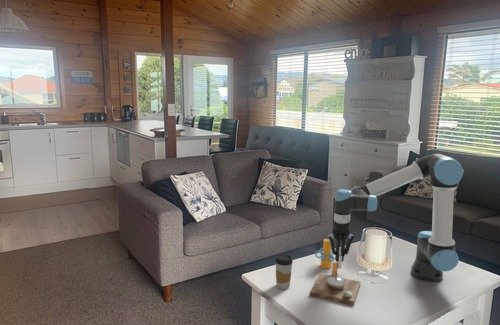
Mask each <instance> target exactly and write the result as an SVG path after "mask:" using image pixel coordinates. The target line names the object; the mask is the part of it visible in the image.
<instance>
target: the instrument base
mask: <svg viewBox="0 0 500 325" xmlns="http://www.w3.org/2000/svg"><path fill="white" fill-rule="evenodd" d="M329 275H330V274H324V273H319V275H318V277H317V279H316V280H315V281H314V282H313V283H314V284H313V285H312V287H311V289H310V291H309V297H313V298H314V297H315V298H317V299H323V300H328V301H331V302H336V303H340V304H344V305H350V306H355V304H356V300H357V297H358V294H359V291H360V289H361V288H360V287H361V281H359V280H354V279H349V278H345V288H344V289H343V290H333V289H330V288H329V287H328V286H327V283H328V276H329Z"/></svg>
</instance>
